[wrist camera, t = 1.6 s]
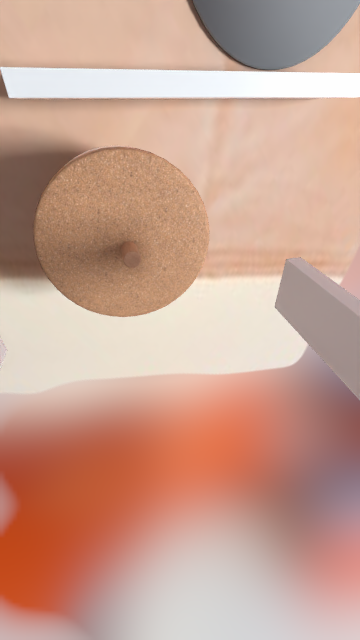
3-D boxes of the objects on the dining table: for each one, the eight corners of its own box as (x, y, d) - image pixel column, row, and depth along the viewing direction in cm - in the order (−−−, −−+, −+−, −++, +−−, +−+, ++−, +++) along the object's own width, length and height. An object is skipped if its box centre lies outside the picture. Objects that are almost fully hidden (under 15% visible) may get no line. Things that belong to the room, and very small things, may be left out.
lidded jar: (126, 289, 28) (140, 354, 21) (19, 216, 22) (-15, 272, 14) (204, 207, 25) (251, 249, 18) (105, 95, 19) (118, 90, 12)
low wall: (22, 99, 18) (8, 97, 15) (15, 74, 17) (-1, 67, 14) (321, 98, 22) (359, 97, 19) (326, 78, 21) (366, 73, 18)
